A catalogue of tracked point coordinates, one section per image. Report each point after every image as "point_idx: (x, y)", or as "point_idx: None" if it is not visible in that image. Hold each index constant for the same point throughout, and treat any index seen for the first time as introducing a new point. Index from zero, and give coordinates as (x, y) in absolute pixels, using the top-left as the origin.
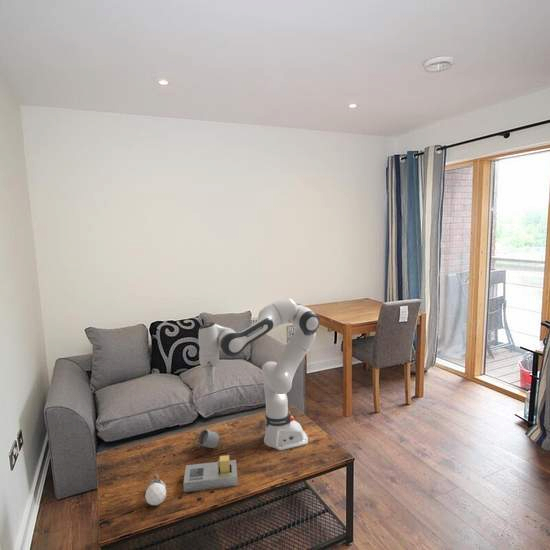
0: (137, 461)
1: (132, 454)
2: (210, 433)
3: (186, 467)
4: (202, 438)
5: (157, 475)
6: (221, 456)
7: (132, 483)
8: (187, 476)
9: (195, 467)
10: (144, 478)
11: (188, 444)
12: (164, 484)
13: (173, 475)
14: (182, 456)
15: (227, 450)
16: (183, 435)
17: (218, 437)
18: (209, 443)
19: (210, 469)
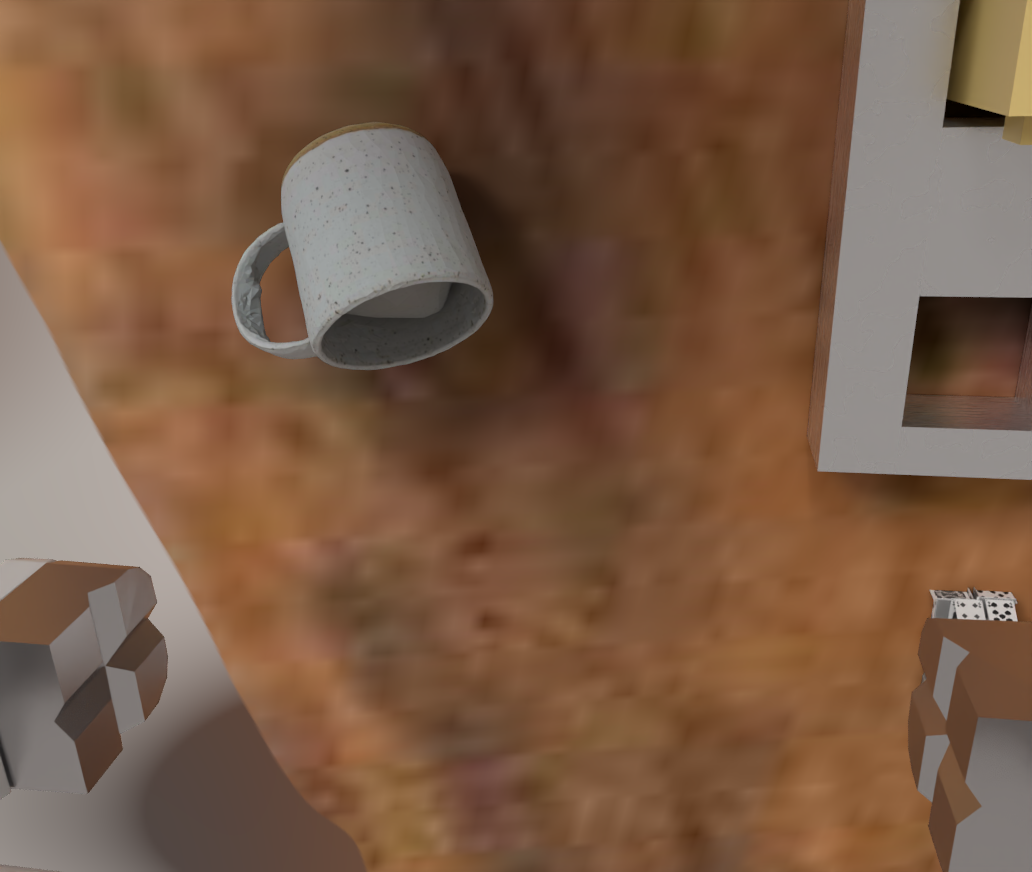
0: (526, 795)
1: (423, 831)
2: (403, 248)
3: (856, 464)
4: (349, 323)
5: None
6: (1024, 92)
7: (812, 805)
8: (1020, 450)
9: (886, 379)
10: (771, 737)
11: (320, 434)
12: (967, 613)
13: (796, 538)
14: (515, 479)
15: (479, 20)
16: (162, 484)
17: (377, 136)
18: (474, 243)
19: (980, 220)
